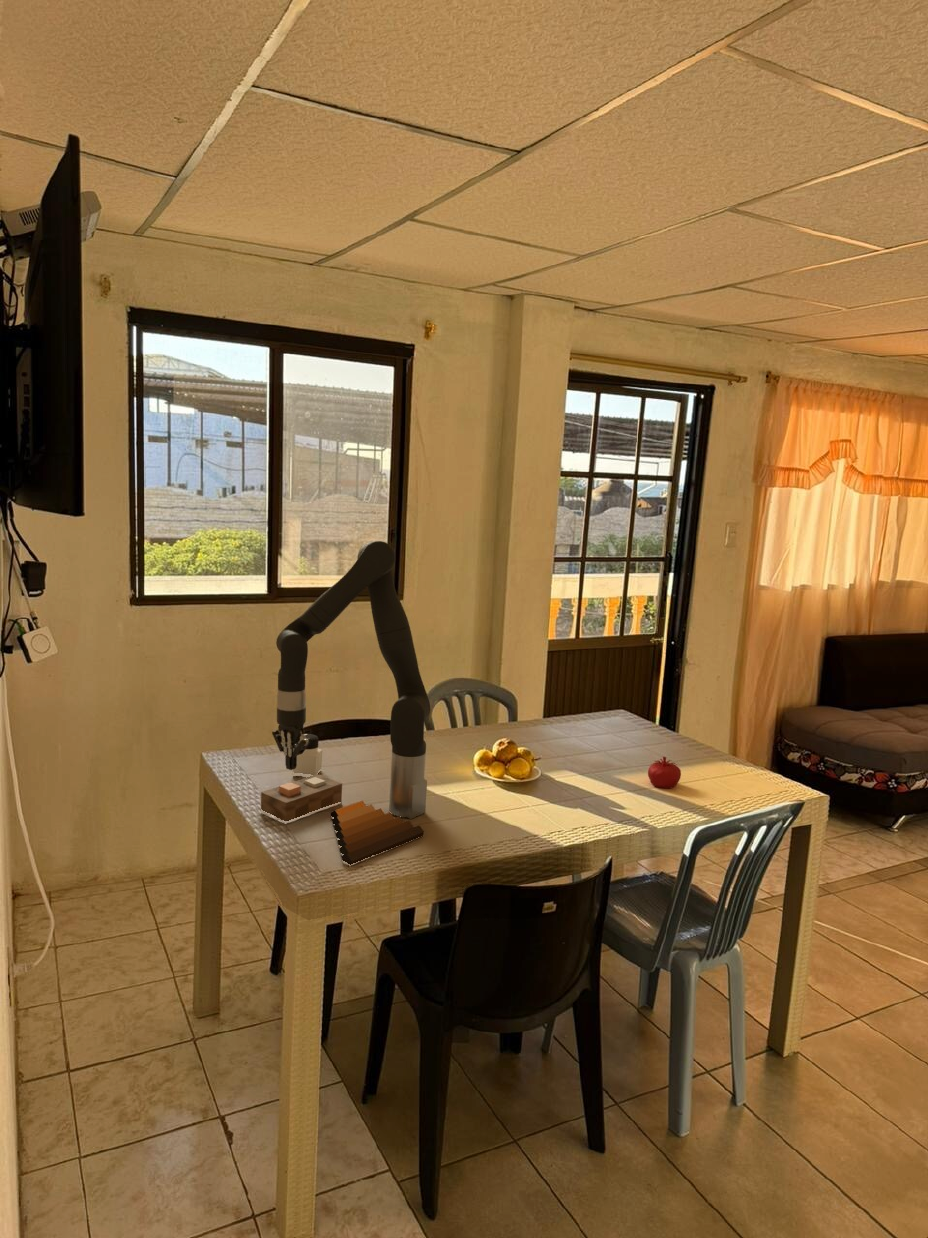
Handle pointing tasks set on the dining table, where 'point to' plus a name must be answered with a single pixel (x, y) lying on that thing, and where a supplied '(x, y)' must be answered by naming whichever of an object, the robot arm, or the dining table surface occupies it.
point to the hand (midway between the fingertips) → (290, 768)
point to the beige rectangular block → (314, 782)
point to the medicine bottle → (310, 758)
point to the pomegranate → (664, 774)
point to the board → (301, 799)
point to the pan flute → (369, 831)
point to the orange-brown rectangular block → (289, 789)
